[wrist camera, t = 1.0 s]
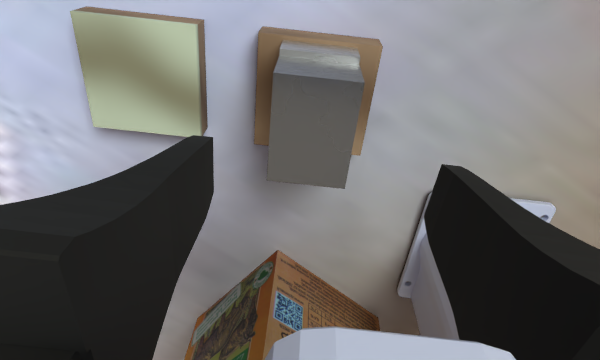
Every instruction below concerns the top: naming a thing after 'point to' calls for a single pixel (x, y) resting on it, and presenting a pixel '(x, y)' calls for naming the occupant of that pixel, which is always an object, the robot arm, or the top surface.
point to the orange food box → (272, 312)
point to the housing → (314, 113)
